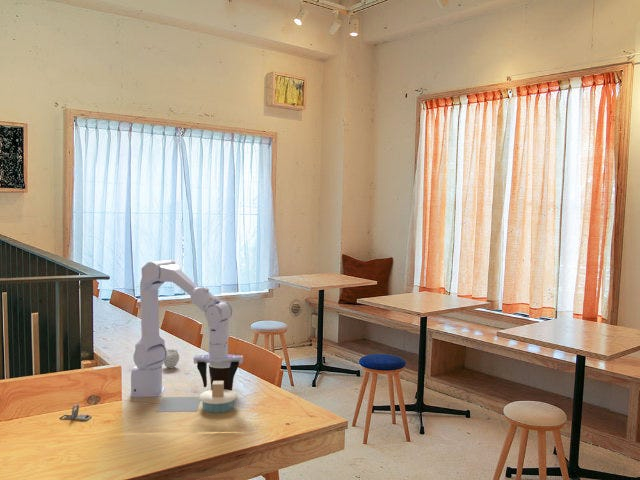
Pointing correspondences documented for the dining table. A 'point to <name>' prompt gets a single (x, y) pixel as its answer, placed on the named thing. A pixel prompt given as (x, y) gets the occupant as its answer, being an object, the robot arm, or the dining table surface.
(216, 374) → the coffee mug
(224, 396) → the lid
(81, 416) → the strap clip
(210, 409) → the bowl
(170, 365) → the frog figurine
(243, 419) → the dining table surface
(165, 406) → the mat
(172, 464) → the dining table surface
